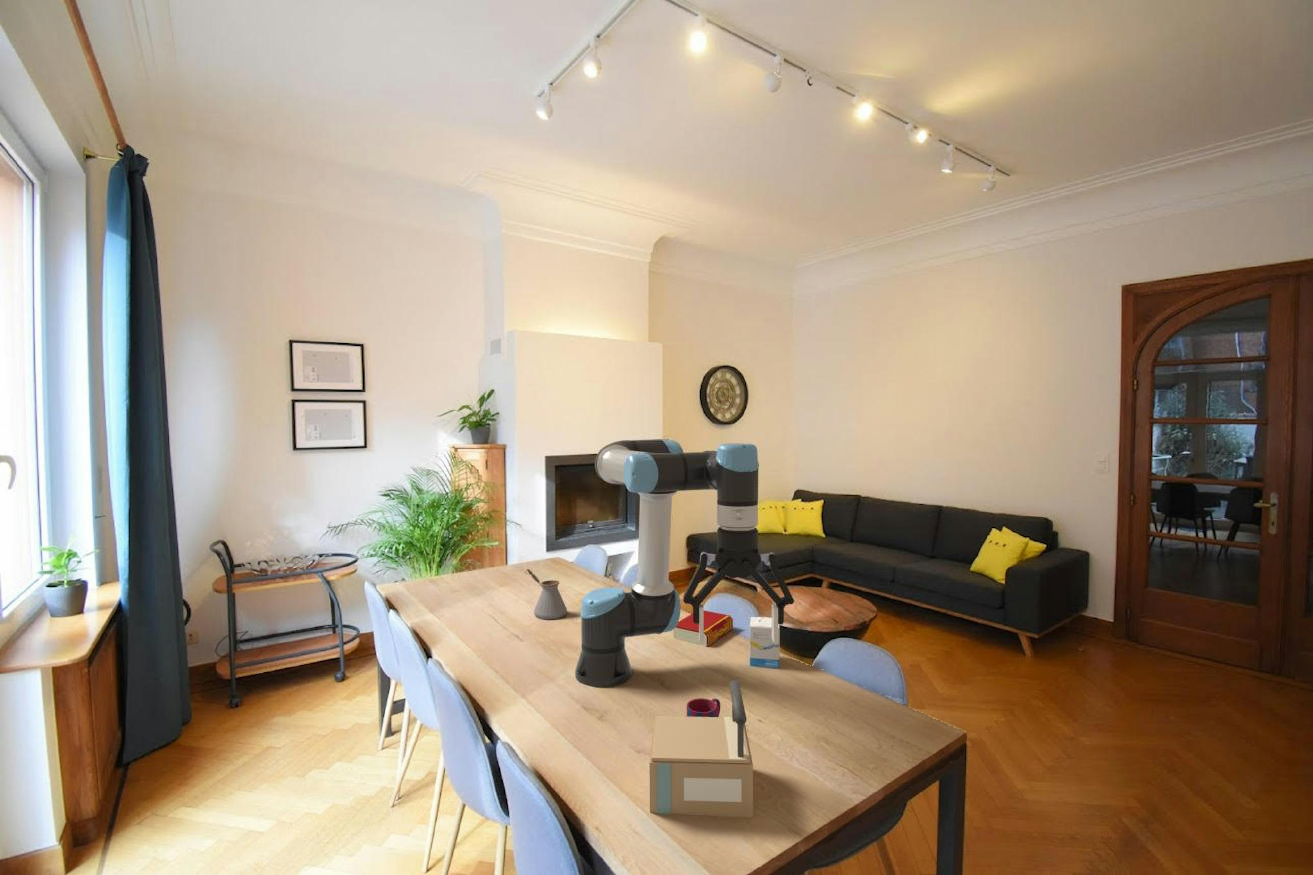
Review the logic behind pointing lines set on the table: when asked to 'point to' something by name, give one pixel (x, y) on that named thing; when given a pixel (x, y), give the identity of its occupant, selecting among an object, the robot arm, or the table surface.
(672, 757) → the flap
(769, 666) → the ink box
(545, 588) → the coffee pot
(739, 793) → the carton
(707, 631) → the book
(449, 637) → the table surface
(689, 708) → the mug
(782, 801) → the table surface
